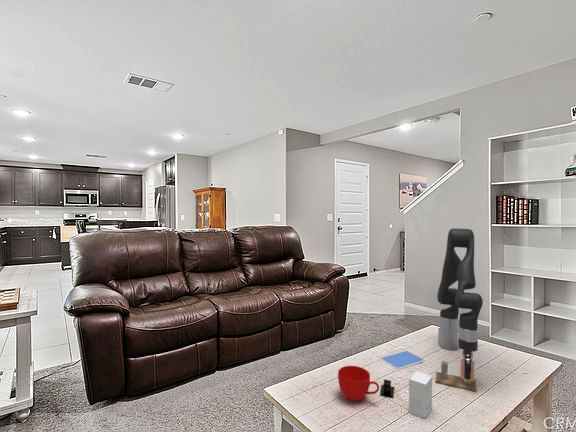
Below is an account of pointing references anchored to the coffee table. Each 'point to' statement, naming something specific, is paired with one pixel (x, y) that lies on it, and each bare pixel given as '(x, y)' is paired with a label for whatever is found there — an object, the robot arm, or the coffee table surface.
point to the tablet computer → (402, 360)
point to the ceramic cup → (355, 382)
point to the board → (453, 379)
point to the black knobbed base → (387, 389)
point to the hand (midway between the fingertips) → (467, 375)
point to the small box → (420, 394)
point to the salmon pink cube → (462, 371)
